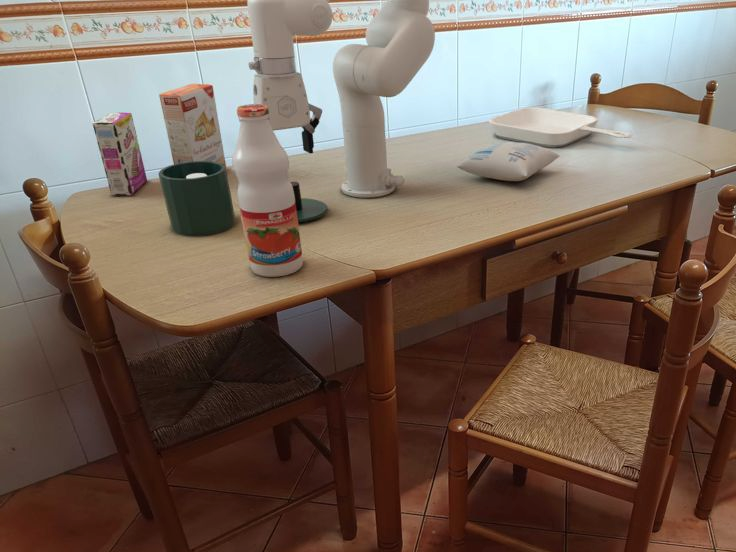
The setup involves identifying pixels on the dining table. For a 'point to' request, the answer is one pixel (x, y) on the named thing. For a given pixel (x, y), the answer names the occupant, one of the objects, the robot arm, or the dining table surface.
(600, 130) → the pan
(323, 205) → the lid
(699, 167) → the dining table surface
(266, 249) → the fruit juice
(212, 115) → the cracker box
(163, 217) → the dining table surface
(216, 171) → the pot
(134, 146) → the candy bar box
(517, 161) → the pouch
